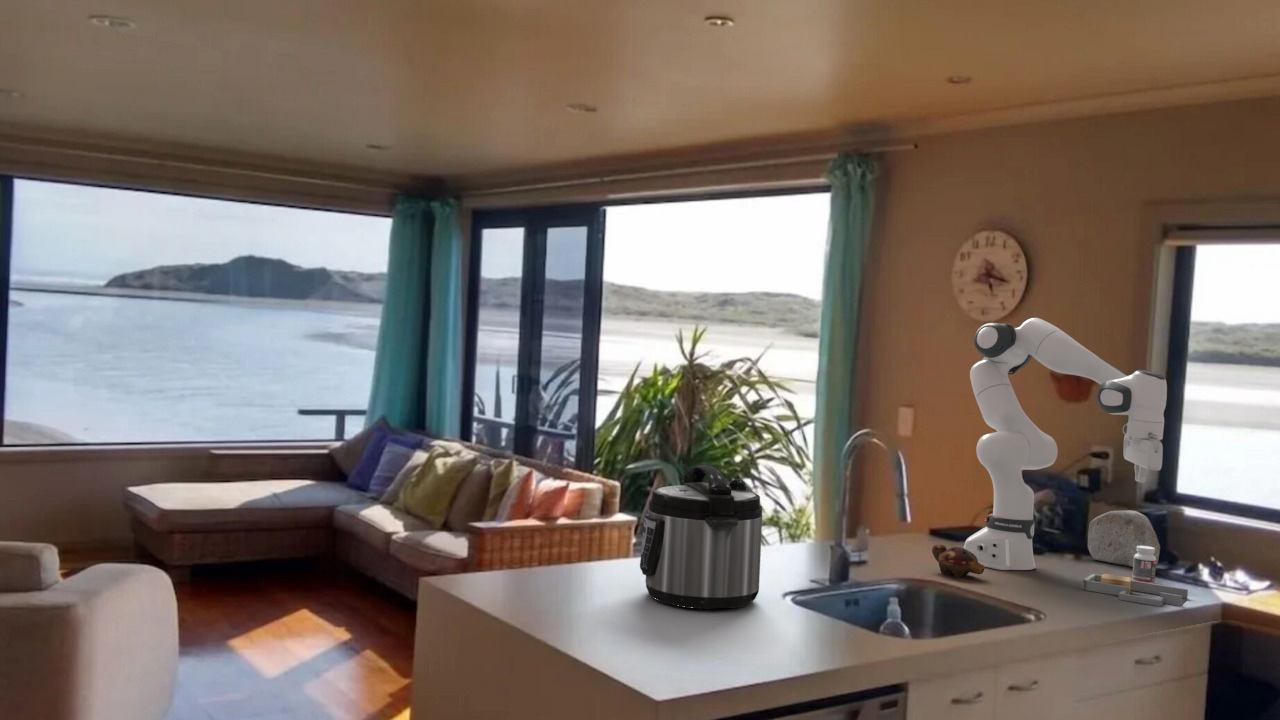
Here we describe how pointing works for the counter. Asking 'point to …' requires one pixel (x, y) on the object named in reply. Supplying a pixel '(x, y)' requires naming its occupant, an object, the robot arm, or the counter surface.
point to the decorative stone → (1120, 537)
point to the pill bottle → (1144, 564)
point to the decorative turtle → (956, 560)
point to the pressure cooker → (703, 542)
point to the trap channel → (1166, 592)
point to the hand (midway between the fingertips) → (1140, 481)
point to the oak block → (1117, 581)
